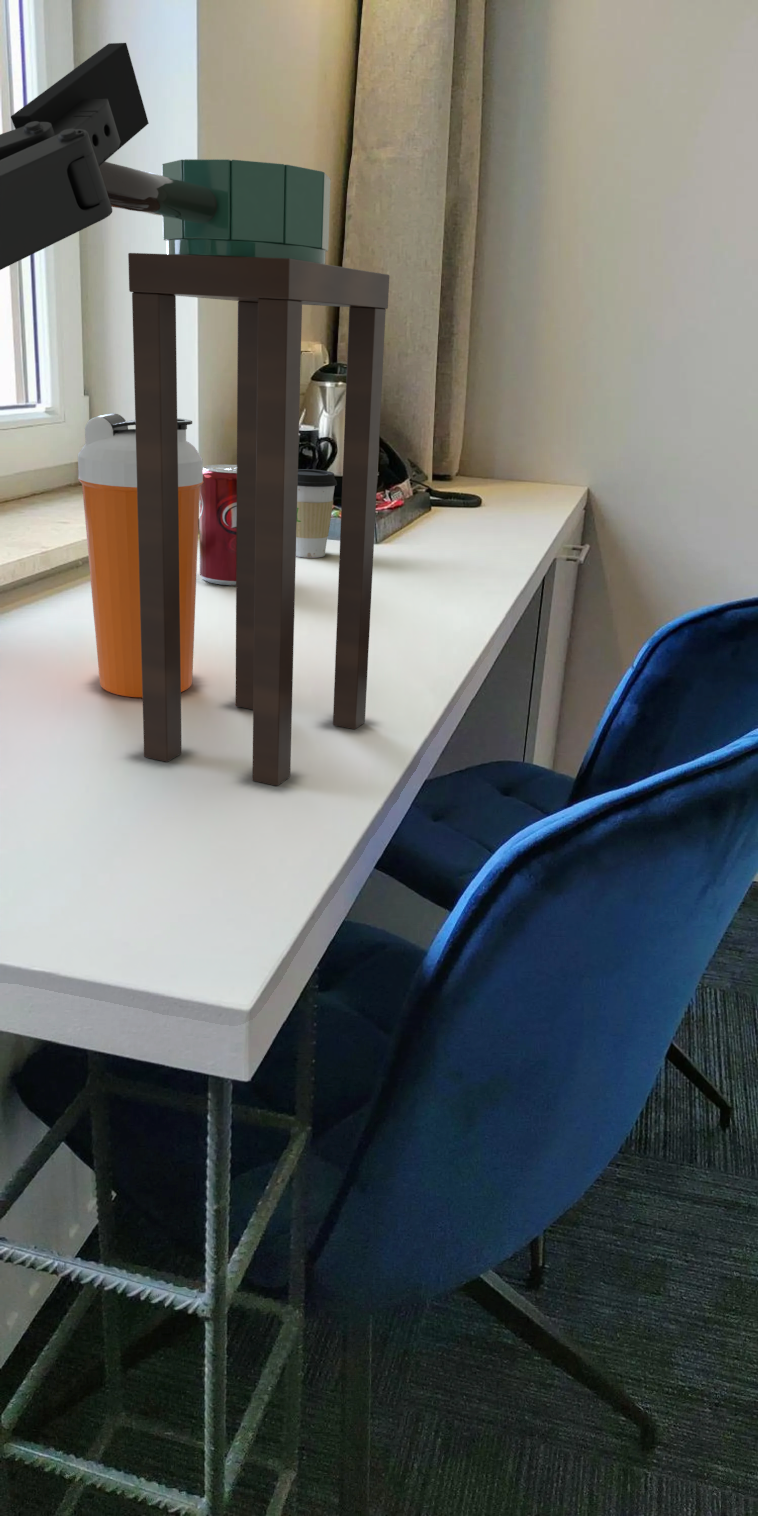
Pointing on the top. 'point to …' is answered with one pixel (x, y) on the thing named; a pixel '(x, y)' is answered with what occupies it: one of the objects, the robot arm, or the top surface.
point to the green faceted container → (230, 206)
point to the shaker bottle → (132, 548)
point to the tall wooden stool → (255, 484)
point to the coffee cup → (313, 511)
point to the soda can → (218, 524)
